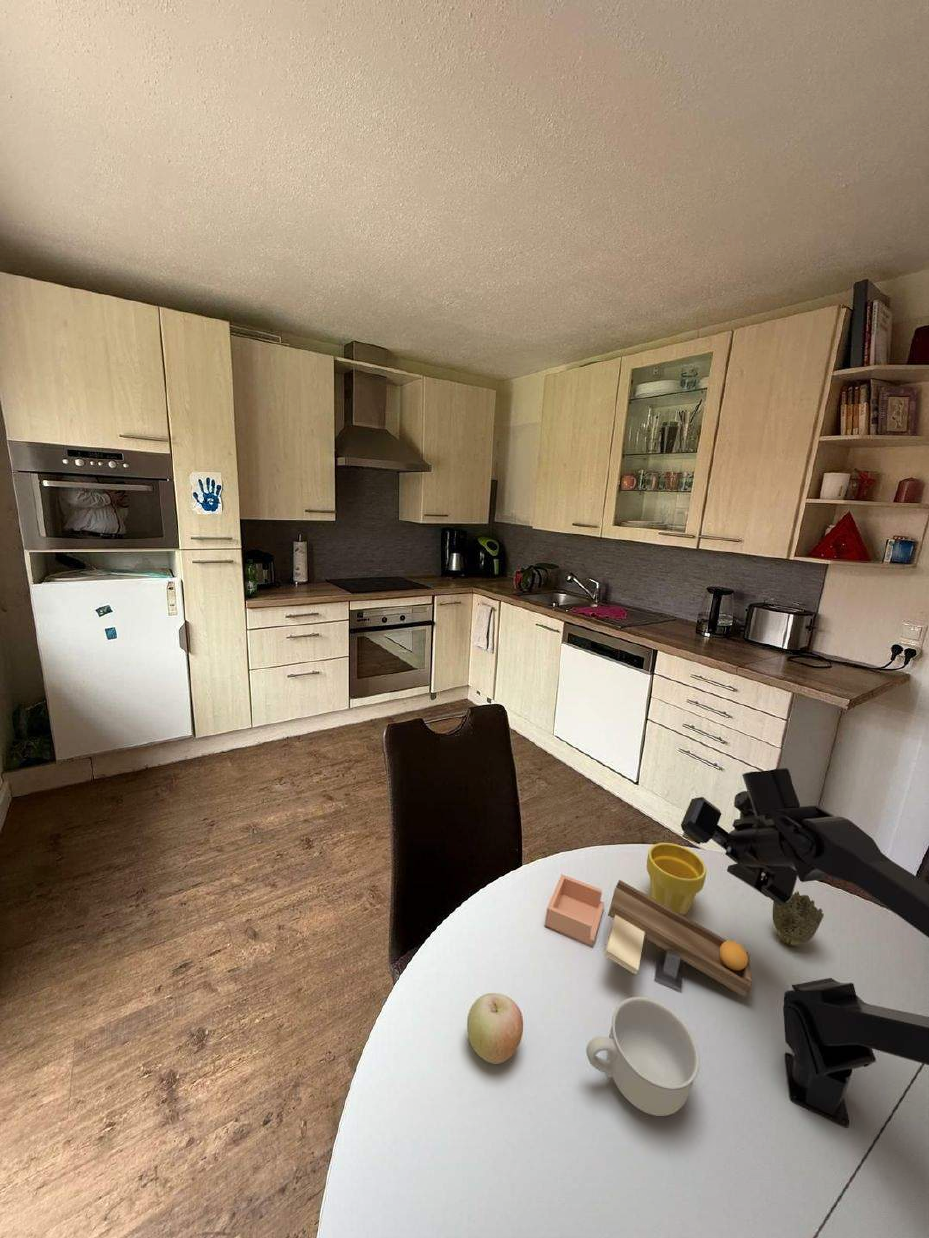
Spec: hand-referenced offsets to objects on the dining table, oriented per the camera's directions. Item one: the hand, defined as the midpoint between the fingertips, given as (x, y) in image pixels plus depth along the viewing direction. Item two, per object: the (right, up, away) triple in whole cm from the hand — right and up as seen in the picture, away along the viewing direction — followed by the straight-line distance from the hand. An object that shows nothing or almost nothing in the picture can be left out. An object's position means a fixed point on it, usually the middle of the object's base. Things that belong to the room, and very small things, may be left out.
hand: (706, 851), depth 89 cm
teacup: (-20, -21, -21) cm, 36 cm away
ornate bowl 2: (+16, -18, +3) cm, 24 cm away
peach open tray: (-22, -14, +4) cm, 27 cm away
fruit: (-38, -19, -18) cm, 46 cm away
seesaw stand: (-7, -17, -2) cm, 19 cm away
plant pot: (-3, -15, +10) cm, 18 cm away
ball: (+1, -13, -7) cm, 15 cm away
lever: (-9, -14, -7) cm, 18 cm away
